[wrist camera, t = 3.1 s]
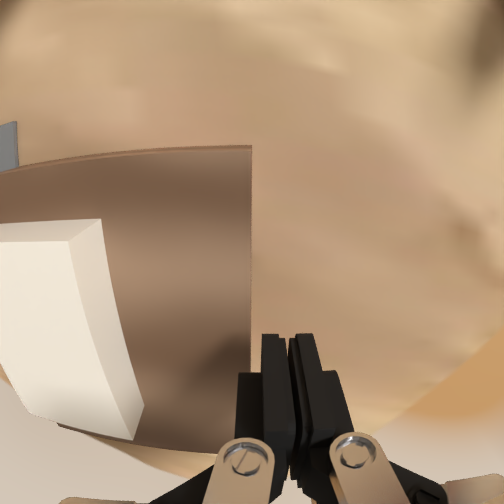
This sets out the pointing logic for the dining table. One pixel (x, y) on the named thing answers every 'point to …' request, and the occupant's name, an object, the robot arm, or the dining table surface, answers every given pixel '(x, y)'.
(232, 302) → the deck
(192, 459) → the dining table surface
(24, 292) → the tile
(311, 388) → the robot arm
